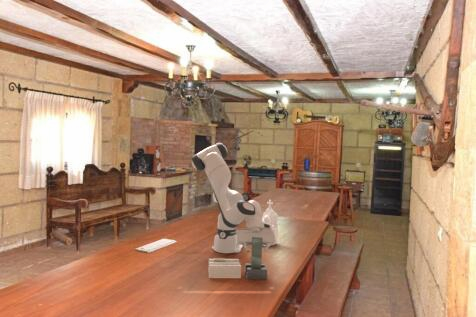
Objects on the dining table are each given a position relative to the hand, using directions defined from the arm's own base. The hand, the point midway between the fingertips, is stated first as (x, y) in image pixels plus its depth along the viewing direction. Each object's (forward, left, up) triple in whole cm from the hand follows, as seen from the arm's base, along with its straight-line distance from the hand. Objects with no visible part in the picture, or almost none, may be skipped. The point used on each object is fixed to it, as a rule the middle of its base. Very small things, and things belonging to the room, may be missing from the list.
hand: (256, 251), depth 209 cm
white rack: (+4, -16, -14) cm, 21 cm away
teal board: (-1, 0, -13) cm, 13 cm away
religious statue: (-68, -13, -14) cm, 71 cm away
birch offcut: (0, -14, -13) cm, 19 cm away
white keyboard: (-29, -75, -15) cm, 82 cm away
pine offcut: (+3, -19, -13) cm, 24 cm away
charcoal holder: (-1, 0, -14) cm, 14 cm away
